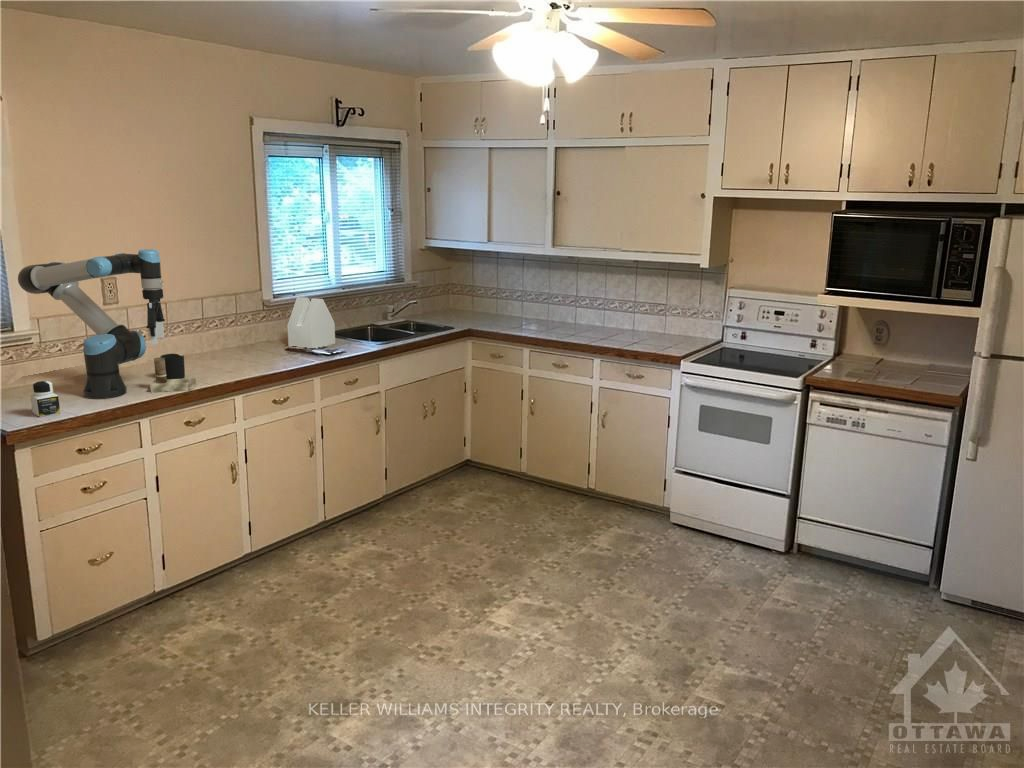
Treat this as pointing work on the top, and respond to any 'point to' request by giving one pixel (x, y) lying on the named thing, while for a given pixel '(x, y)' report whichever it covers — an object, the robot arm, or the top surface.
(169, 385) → the mottled green flat block
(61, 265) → the robot arm
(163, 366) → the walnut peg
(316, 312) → the white notched tapered block
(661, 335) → the top surface
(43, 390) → the medicine bottle
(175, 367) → the pen holder
